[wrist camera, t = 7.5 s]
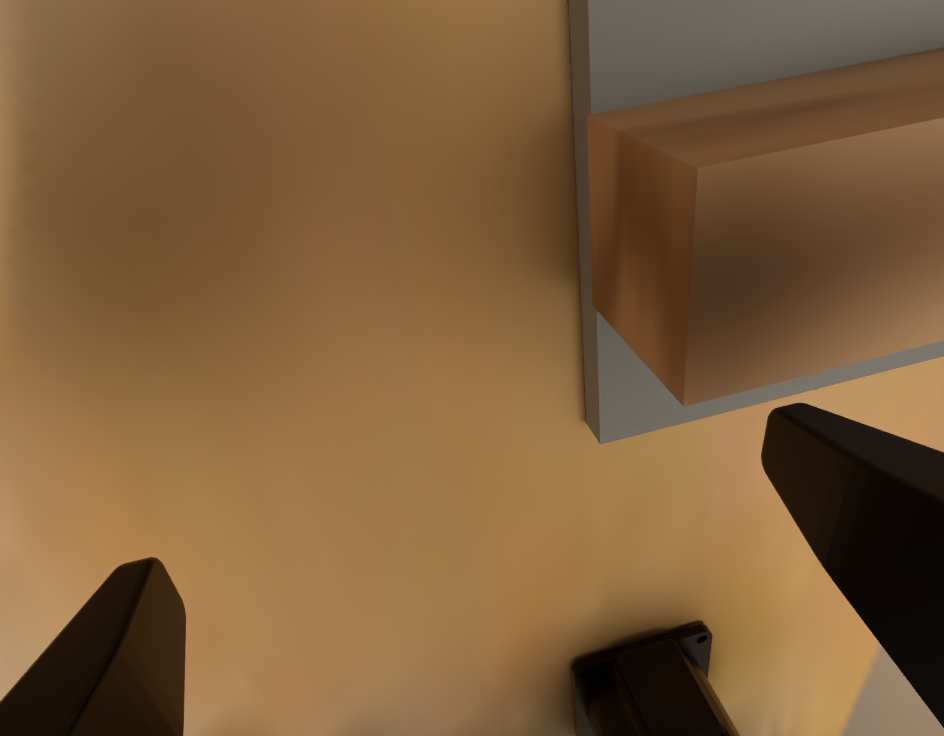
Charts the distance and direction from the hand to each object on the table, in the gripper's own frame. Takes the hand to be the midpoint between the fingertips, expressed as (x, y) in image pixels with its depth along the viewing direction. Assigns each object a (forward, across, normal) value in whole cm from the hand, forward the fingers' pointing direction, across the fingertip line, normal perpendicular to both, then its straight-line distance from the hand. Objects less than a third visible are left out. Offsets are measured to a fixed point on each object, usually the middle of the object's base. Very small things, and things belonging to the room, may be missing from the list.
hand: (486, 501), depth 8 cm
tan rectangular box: (+9, -10, 0) cm, 13 cm away
